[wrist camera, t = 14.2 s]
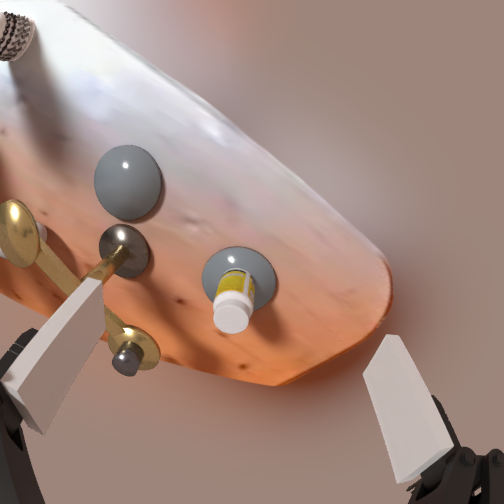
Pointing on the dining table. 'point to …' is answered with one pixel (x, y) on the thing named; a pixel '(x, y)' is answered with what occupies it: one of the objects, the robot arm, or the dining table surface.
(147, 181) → the glossy grey puck
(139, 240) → the balance
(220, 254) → the dish low
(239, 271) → the supplement bottle
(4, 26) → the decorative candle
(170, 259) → the dining table surface
